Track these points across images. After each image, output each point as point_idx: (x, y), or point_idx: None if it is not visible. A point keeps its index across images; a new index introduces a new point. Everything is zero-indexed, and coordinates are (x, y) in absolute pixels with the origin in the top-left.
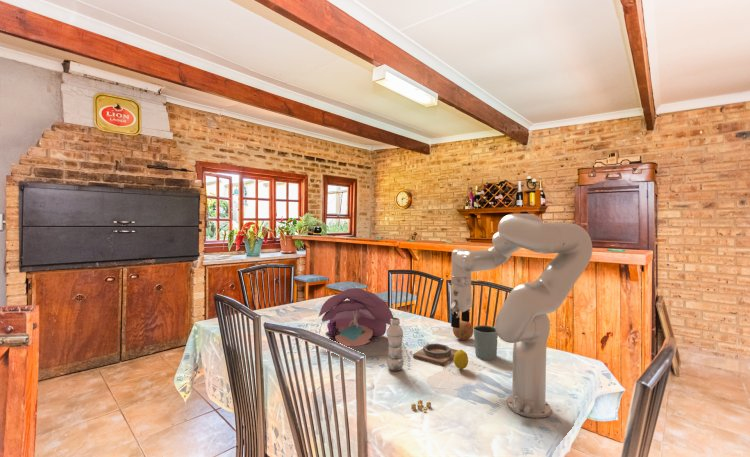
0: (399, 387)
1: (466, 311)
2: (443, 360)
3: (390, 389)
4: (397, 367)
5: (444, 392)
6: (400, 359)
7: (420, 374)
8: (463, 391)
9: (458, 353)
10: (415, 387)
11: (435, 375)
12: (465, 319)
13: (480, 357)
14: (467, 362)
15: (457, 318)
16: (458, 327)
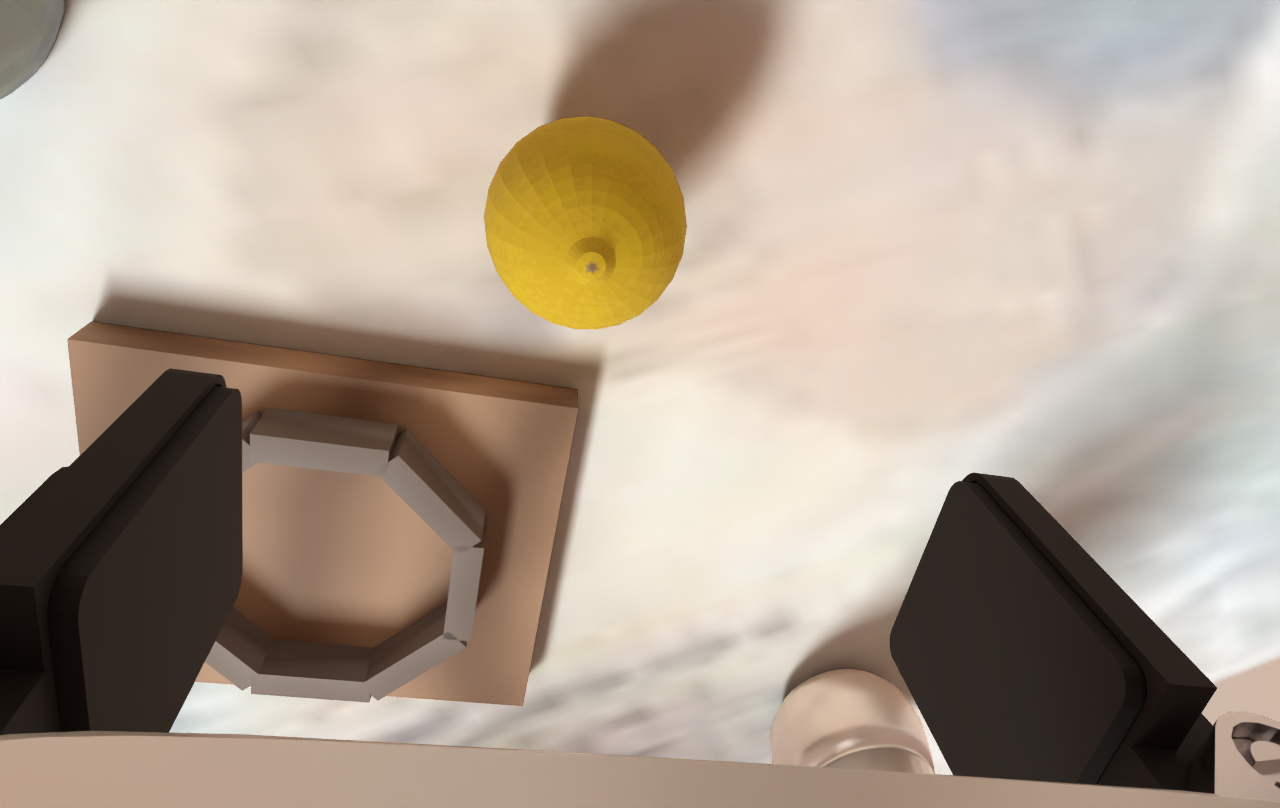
0: (1140, 563)
1: (42, 714)
2: (521, 422)
3: (1182, 601)
4: (907, 701)
5: (1168, 216)
6: (895, 743)
7: (857, 512)
8: (1115, 37)
9: (654, 276)
10: (1117, 465)
11: (831, 393)
12: (217, 509)
13: (54, 10)
14: (608, 120)
15: (1167, 715)
16: (1011, 492)
